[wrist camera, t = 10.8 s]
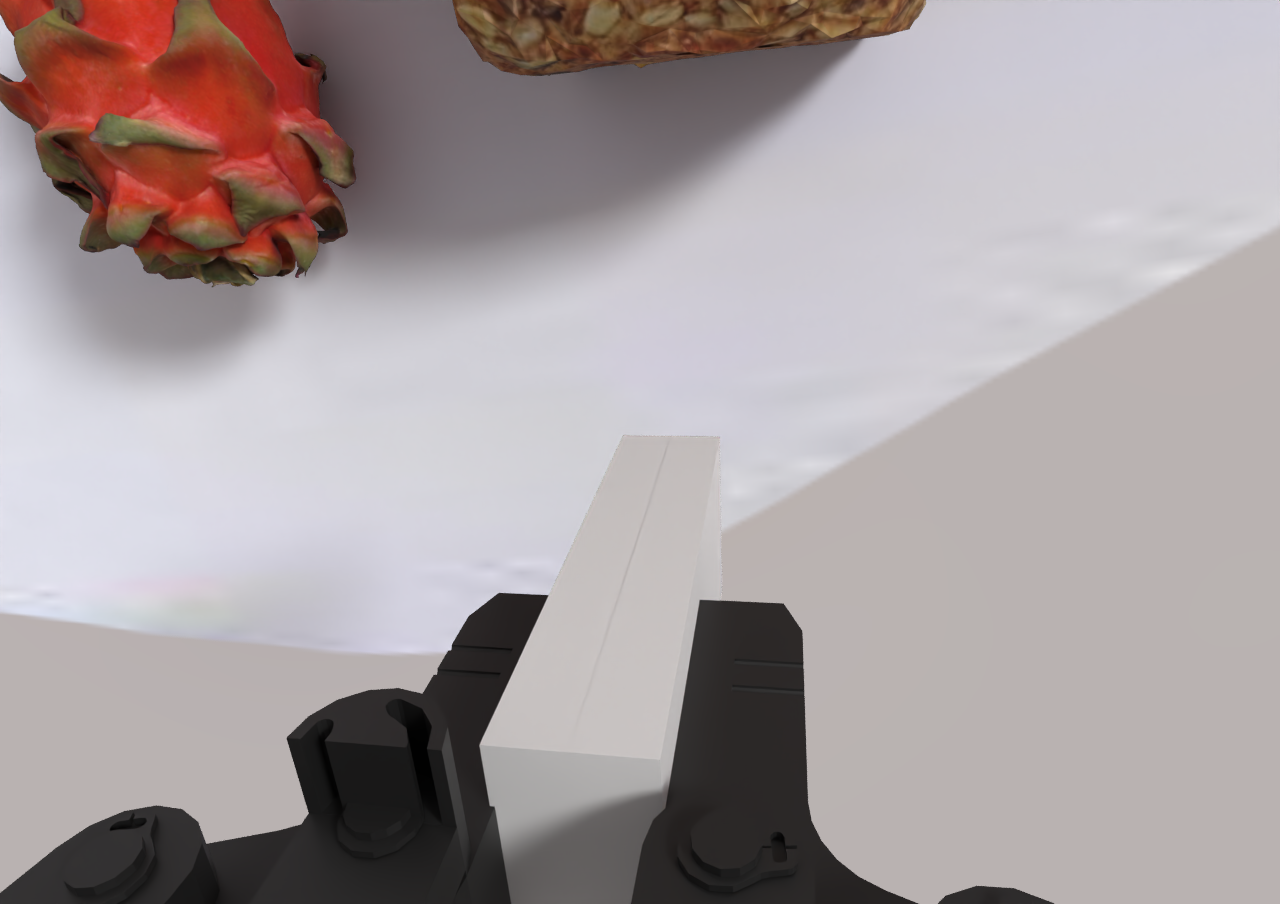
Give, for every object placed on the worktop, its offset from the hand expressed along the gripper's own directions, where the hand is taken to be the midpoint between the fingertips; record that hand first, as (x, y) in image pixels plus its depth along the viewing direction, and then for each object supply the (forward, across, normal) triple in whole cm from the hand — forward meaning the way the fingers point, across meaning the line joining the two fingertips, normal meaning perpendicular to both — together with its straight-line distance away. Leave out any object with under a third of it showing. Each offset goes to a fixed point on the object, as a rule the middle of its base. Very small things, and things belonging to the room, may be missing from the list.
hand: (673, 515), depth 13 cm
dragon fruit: (+16, -16, +6) cm, 23 cm away
